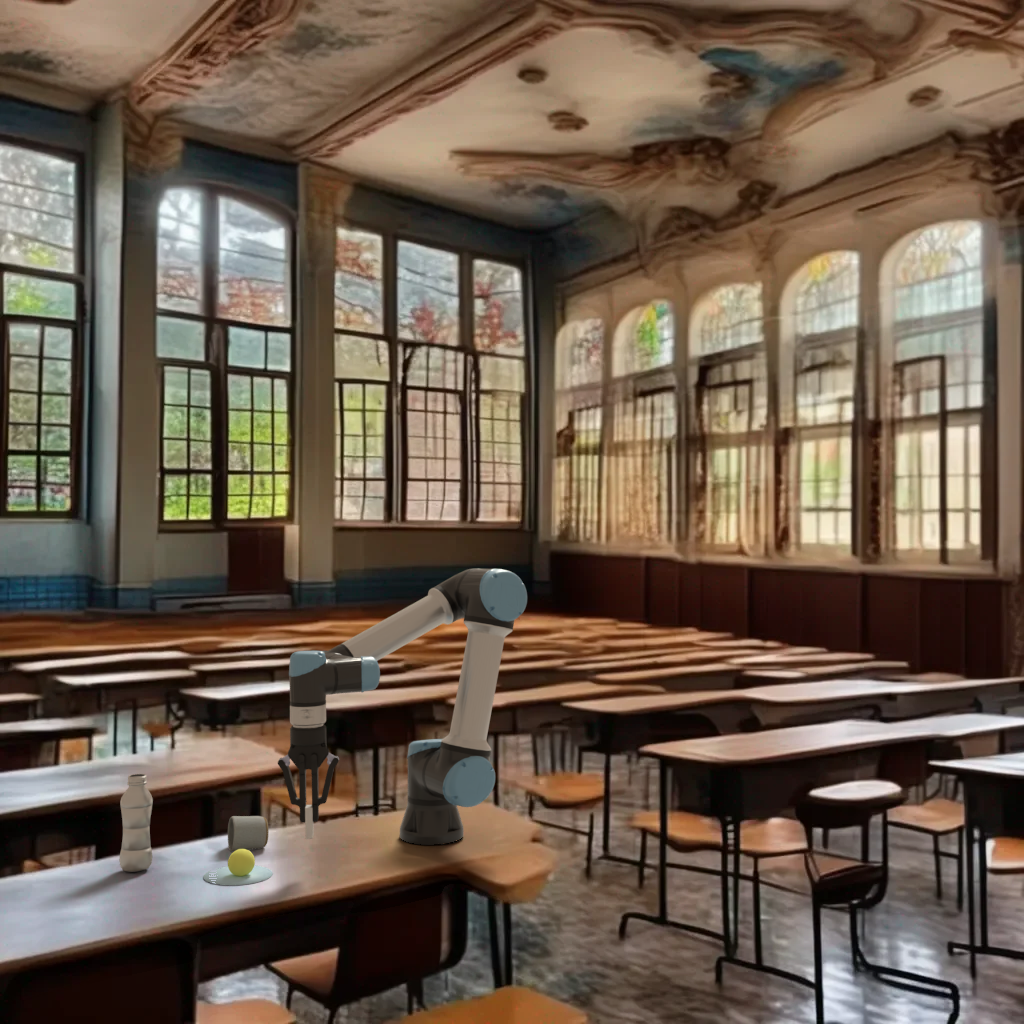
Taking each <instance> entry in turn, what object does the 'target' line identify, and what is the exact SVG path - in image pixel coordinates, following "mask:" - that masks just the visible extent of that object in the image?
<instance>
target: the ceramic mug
mask: <svg viewBox="0 0 1024 1024" xmlns="http://www.w3.org/2000/svg"><path fill="white" fill-rule="evenodd" d="M268 840H269V823H268V819H267V818H266V817H265V816H261V815H250V816H249V815H248V816H247V815H246V816H245V815H243V816H240V815H238V816H237V815H233V816H231V817H230V818H229V821H228V825H227V844H228V845H227V846H228V849H229V852H231V851H232V852H231V853H233V851H236V850H238V849H246V850H249V851H250V850H252V849H253V850H260V849H262V848H265V847H266V846H267V844H268V842H269V841H268ZM253 850H252V851H253Z"/></svg>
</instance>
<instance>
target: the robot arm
mask: <svg viewBox="0 0 1024 1024" xmlns="http://www.w3.org/2000/svg"><path fill="white" fill-rule="evenodd" d="M527 604H528V592H527V588H526V585H525V584H524V583H523V581H522V579H521V578H520V577H519V575H517V574H516V573H515V572H512V571H510V570H507V569H502V568H479V567H477V568H469V569H468V568H467V569H465V570H463V571H461V572H459V573H456V574H454V575H453V576H451V577H449V578H447V579H446V580H444V581H442V582H440V583H439V584H437V585H436V586H434V587H431V588H430V589H429V590H428V593H427V595H426V596H424V597H423V598H421V599H419V600H417V601H416V602H413V603H411V604H410V605H407V606H406V607H404V608H403V609H401V610H399V611H397V612H396V613H394V614H392V615H390V616H388V617H387V618H385V619H383V620H381V621H380V622H378V623H376V624H374V625H373V626H371V627H369V628H367V629H365V630H364V631H361V632H360V633H358V634H356V635H354V636H353V637H351V638H349V639H347V640H345V641H344V642H342V643H340V644H338V645H336V646H334V647H333V648H331V649H329V650H298V651H295V652H293V653H292V654H291V655H290V657H289V667H288V669H289V670H288V677H289V723H290V725H291V727H290V728H289V732H290V733H289V735H290V736H289V737H290V738H289V743H290V745H289V749H288V751H287V754H286V755H285V756H283V757H280V758H279V759H278V761H277V765H278V766H279V768H280V769H281V771H282V774H283V778H284V781H285V785H286V789H287V790H286V791H287V793H288V796H289V800H290V804H291V805H295V806H297V807H299V821H300V823H305V825H304V826H305V827H304V829H305V830H304V831H305V838H304V839H305V840H313V838H314V836H315V834H314V833H315V831H314V826H315V825H314V824H315V823H317V822H318V821H319V818H320V815H319V813H320V809H319V808H320V806H321V805H324V804H326V803H327V800H328V796H329V792H330V788H331V783H332V779H333V774H334V772H335V771H334V769H335V767H336V766H337V765H338V764H339V761H340V757H339V756H338V755H334V754H332V753H331V752H330V749H329V747H328V745H327V726H326V725H325V723H326V722H327V696H329V695H331V696H332V695H338V694H349V693H351V694H352V693H364V692H368V691H373V690H376V688H378V686H379V684H380V680H381V679H380V678H381V671H380V670H381V669H380V665H379V662H378V661H380V660H381V659H383V658H385V657H386V656H388V655H390V654H392V653H394V652H395V651H397V650H399V649H400V648H402V647H404V646H406V645H407V644H409V643H411V642H413V641H414V640H417V639H418V638H420V637H421V636H423V635H426V633H428V632H431V631H432V630H434V629H435V628H437V627H439V626H441V625H443V624H444V625H450V624H453V623H454V622H456V621H459V620H461V619H463V624H464V625H465V627H466V628H467V638H466V643H465V648H464V653H463V659H462V663H461V664H462V665H461V668H460V669H461V670H460V676H459V679H458V681H459V682H458V686H457V691H456V697H455V703H454V707H453V712H452V718H451V724H450V729H449V730H450V731H449V733H448V735H446V736H445V737H443V738H432V739H421V740H413V741H411V742H410V743H409V745H408V749H407V757H406V758H407V802H406V803H407V805H406V808H405V812H404V814H403V818H402V821H401V824H400V826H399V839H400V838H401V839H402V840H401V839H400V840H401V841H403V840H404V841H403V842H405V841H406V842H405V843H408V842H409V844H412V843H414V844H413V845H420V844H421V846H435V845H434V844H441V845H444V844H443V843H449V842H453V843H455V842H454V841H456V840H459V839H461V838H462V837H463V838H464V831H465V830H464V824H463V822H462V817H461V815H460V811H459V808H458V806H459V807H462V808H472V807H476V806H478V805H480V804H482V802H484V801H485V800H486V799H488V797H489V796H490V795H491V793H492V792H493V790H494V787H495V783H496V772H495V769H494V767H493V764H492V763H491V761H490V758H491V754H492V747H491V746H490V744H489V742H488V741H487V738H488V732H489V727H490V721H491V718H492V717H491V715H492V710H493V703H494V700H495V693H496V689H497V682H498V678H499V671H500V666H501V660H502V655H503V651H504V650H503V649H504V643H505V638H506V637H507V636H508V635H510V634H511V633H512V632H513V629H514V626H515V620H516V619H519V617H520V616H522V614H523V613H524V611H525V610H526V607H527ZM326 759H327V761H326ZM291 761H292V763H293V765H295V767H296V768H297V769H298V775H299V776H298V777H299V778H298V781H299V782H298V784H299V785H298V787H299V788H298V789H299V794H297V791H296V786H295V783H294V780H293V776H292V771H291V768H290V764H291ZM325 761H326V764H327V765H328V768H327V771H326V775H325V779H324V784H323V788H322V792H321V796H320V795H319V793H320V792H319V791H320V790H319V789H320V788H319V768H320V767H321V766H322V764H323V763H324V762H325ZM307 770H310V771H311V772H310V773H311V804H307ZM298 795H299V797H298ZM463 838H462V839H463ZM462 839H461V840H462ZM459 841H460V840H459ZM449 844H450V843H449Z"/></svg>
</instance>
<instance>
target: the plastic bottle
mask: <svg viewBox="0 0 1024 1024" xmlns="http://www.w3.org/2000/svg"><path fill="white" fill-rule="evenodd" d="M146 785H147V774H146V773H134V774H130V775H128V777H127V786H128V788H127V789H126V790H125V792H124V793H123V794H122V796H121V797H120V805H119V806H120V810H121V811H120V812H121V818H122V819H121V820H122V838H121V839H122V842H121V849H120V853H119V866H120V868H121V869H122V871H124V872H131V873H132V872H134V873H136V872H141V871H146V870H148V869H149V868H150V867H151V865H152V863H153V849H152V847H151V845H152V844H151V834H150V827H151V826H150V825H151V815H152V810H153V801H154V798H153V797H152V794H151V792H150V790H149V789H148V787H146Z"/></svg>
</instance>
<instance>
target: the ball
mask: <svg viewBox="0 0 1024 1024" xmlns="http://www.w3.org/2000/svg"><path fill="white" fill-rule="evenodd" d="M255 860H256V859H255V856H254V854H253V853H252V852H251V851H250V850H246V849H238V850H236V851H234V852H231V854H230V856H229V857H228V860H227V866H228V868H229V870H230V872H231V873H232V874H234V875H236V876H245V875H247V874H249V873H250V872H251V871H252V870H253V868H254V865H255V864H256V861H255Z"/></svg>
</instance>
